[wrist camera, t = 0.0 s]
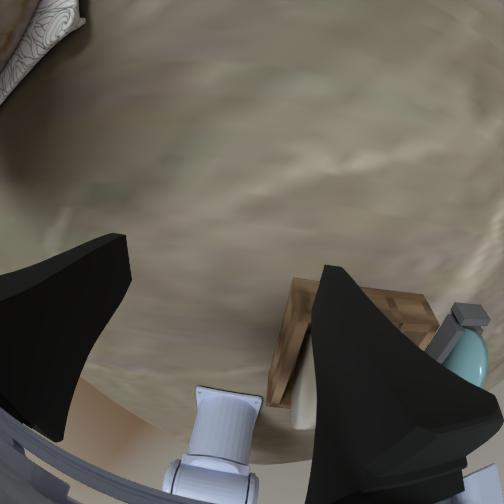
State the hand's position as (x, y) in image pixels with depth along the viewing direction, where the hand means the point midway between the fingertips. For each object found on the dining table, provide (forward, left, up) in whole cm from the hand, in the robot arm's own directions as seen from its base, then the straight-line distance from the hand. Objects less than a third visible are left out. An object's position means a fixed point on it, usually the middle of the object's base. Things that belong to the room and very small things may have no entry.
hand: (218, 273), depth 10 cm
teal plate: (-12, -22, -10) cm, 27 cm away
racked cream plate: (-13, -7, -9) cm, 17 cm away
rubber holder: (-12, -22, -10) cm, 27 cm away
